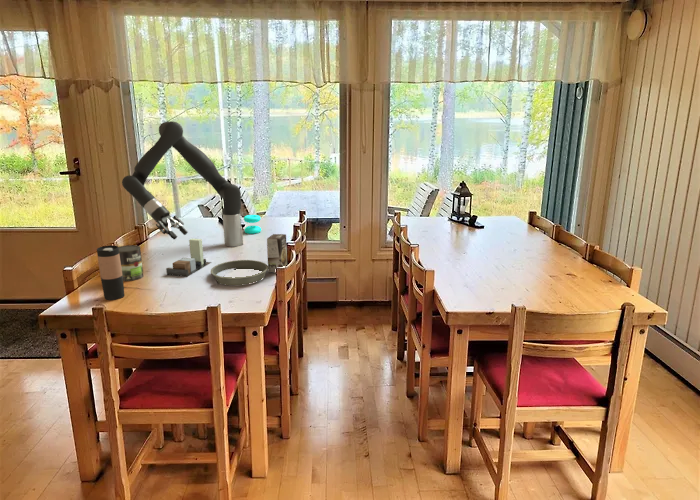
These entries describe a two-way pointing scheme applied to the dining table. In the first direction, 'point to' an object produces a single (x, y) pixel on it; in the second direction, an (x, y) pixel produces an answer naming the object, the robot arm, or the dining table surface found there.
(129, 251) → the coffee can
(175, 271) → the rack
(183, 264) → the offcut
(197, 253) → the pale green block
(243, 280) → the cake pan
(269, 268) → the coffee box
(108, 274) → the travel mug
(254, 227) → the donuts
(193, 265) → the offcut
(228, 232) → the robot arm
